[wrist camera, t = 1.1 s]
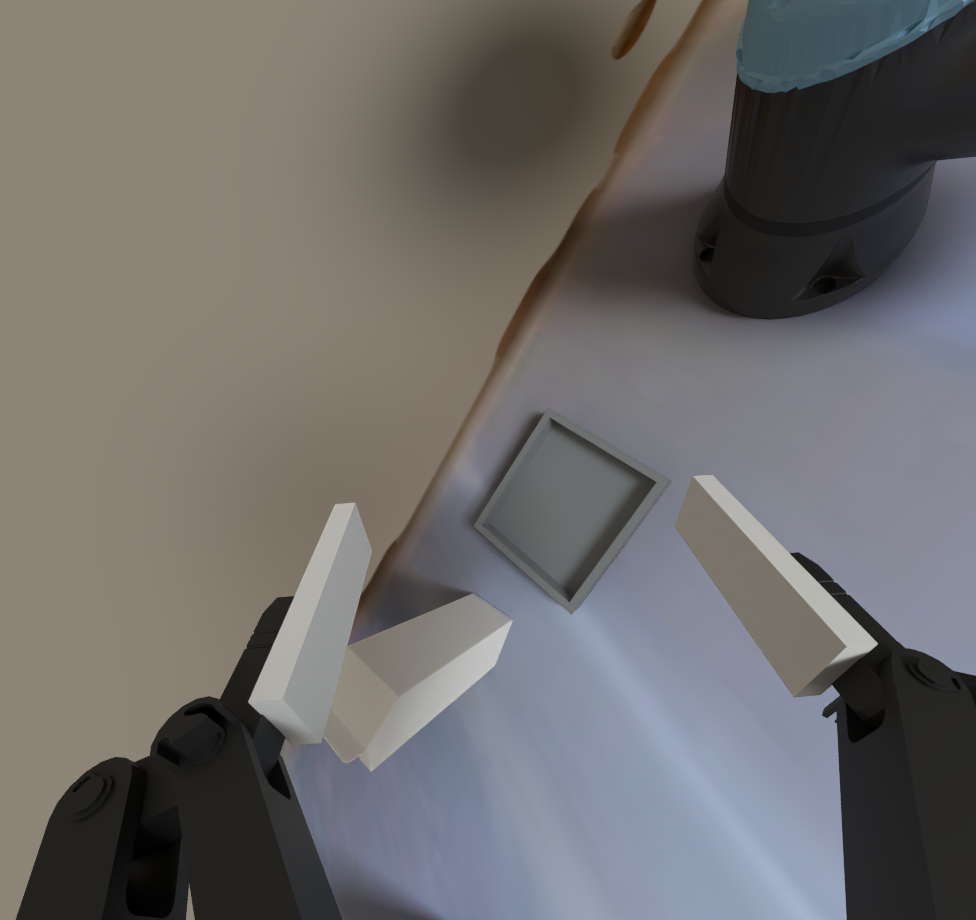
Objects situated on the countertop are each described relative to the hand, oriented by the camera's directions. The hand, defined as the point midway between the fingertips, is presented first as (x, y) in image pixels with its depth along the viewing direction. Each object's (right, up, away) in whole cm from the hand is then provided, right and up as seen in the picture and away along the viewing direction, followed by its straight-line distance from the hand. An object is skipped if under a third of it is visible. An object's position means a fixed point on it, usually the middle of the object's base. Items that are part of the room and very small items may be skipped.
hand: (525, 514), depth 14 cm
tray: (+7, -3, +25) cm, 26 cm away
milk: (-2, -18, +28) cm, 33 cm away
